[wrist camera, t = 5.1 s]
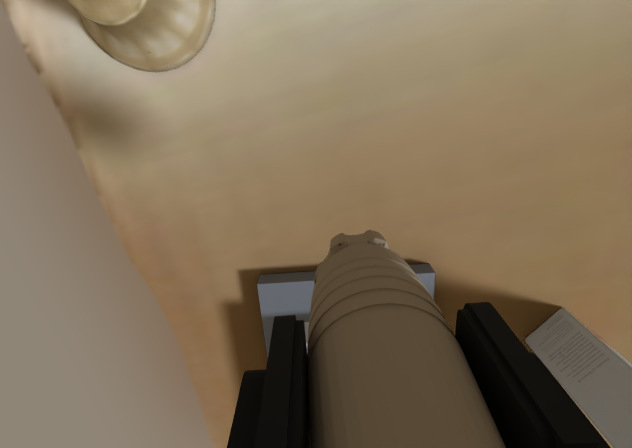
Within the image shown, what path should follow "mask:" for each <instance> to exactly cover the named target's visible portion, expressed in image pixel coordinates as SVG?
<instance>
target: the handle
mask: <svg viewBox="0 0 632 448" xmlns="http://www.w3.org/2000/svg"><path fill="white" fill-rule="evenodd" d="M307 394H308V410H309V426H310V442H311V448H506V446H505V444H504V442H503V440H502V437H501V435H500V433H499V431H498V429H497V426H496V424H495V422H494V420H493V417H492V415H491V413H490V411H489V409H488V406H487V404H486V402H485V400H484V397H483V395H482V393H481V391H480V388H479V386H478V384H477V382H476V380H475V377H474V375H473V373H472V371H471V368H470V366H469V364H468V362H467V359H466V357H465V355H464V353H463V351H462V349H461V347H460V345H459V343H458V341H457V340H456V338H455V336H454V334H453V332H452V330H451V328H450V327H449V325H448V323H447V322H446V320H445V318H444V316H443V314H442V312H441V311H440V309H439V307H438V306H437V304H436V302H435V301H434V299H433V298H432V296H431V295H430V293H429V292H428V290H427V289H426V287H425V286H424V284H423V283H422V281H421V280H420V279H419V277H418V276H417V275H416V274H415V272H414V271H413V270H412V269H411V267H410V266H409V265H408V264H407V263H406V262H405V261H404V260H403V259H402V258H401V257H400V256H399V255H398V254H397V253H395V252H393V251H391V250H390V249H389V247H388V246H387V242H386V240H385V239H384V237H383V236H382V235H381V234H380V233H378V232H376V231H372V230H368V231H366V232H365V233H363V234H360V235H345V234H343V233H340V234H339V235H337V236H335V237H334V238H332V240H331V244H330V251H329V253H328V255H327V257H326V258H325V260H324V261H323V262H321V263H320V264H319V265H318V267H317V270H316V274H315V280H314V289H313V294H312V300H311V308H310V318H309V328H308V343H307Z"/></svg>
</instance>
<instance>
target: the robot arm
mask: <svg viewBox="0 0 632 448" xmlns="http://www.w3.org/2000/svg"><path fill="white" fill-rule="evenodd" d="M455 338H456V340H457V341H458V343H459V345H460V347H461V349H462V351H463V353H464V355H465V357H466V359H467V362H468V364H469V366H470V368H471V371H472V373H473V375H474V377H475V380H476V382H477V384H478V386H479V388H480V391H481V393H482V395H483V397H484V400H485V402H486V404H487V406H488V409H489V411H490V413H491V415H492V417H493V420H494V422H495V424H496V426H497V429H498V431H499V433H500V435H501V437H502V440H503V442H504V444H505V446H506V448H610V446H609V445H608V444H607V443H606V441H605V440H604V439H603V438H602V436H601V435H600V434H599V433H598V431H597V430H596V429H595V428H594V426H593V425H592V424H591V423H590V421H589V420H588V419H587V417H586V416H585V415H584V414H583V412H582V411H581V410H580V409H579V407H578V406H577V405H576V404H575V402H574V401H573V400H572V399H571V397H570V396H569V395H568V394H567V392H566V391H565V390H564V389H563V387H562V386H561V385H560V384H559V382H558V381H557V380H556V379H555V377H554V376H553V375H552V374H551V372H550V371H549V370H548V369H547V367H546V366H545V365H544V364H543V362H542V361H541V360H540V359H539V358H538V357H537V356H536V355H535V354H533V353H531V352H530V353H529V352H528V351H527V350H526V348H525V347H524V346H523V344H522V343H521V342H520V341H519V339H518V338H517V337H516V335H515V334H514V333H513V331H512V330H511V329H510V328H509V326H508V325H507V324H506V322H505V321H504V320H503V319H502V317H501V316H500V315H499V313H498V312H497V311H496V310H495V308H494V307H493V306H492V305H491V304H490V303H489V302H481V303H467V304H465V306H464V309H461V310H458V312H457V321H456V333H455ZM227 448H311V442H310V426H309V410H308V394H307V345H306V335H305V325H304V320H296V315H286V316H275V317H274V321H273V328H272V334H271V341H270V348H269V354H268V361H267V368H266V370H251V371H245V373H244V375H243V378H242V383H241V387H240V392H239V396H238V401H237V405H236V410H235V414H234V419H233V423H232V427H231V432H230V436H229V441H228V445H227Z"/></svg>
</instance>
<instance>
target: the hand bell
mask: <svg viewBox="0 0 632 448" xmlns="http://www.w3.org/2000/svg"><path fill="white" fill-rule="evenodd" d="M67 1H68V2H69V4H70V5H71V6H72V7H73V8H74V9H75V10H76V11H77V12H79V14H80V16H81V18H82V20H83V22H84V24H85V26H86V28H87V30H88V31H89V33H90V34H91V36H92V37H93V38H94V40H95V41H96V42H97V43H98V44H99V46H100V47H101V48H102V49H103V50H104V51H106V52H107V53H108V54H109V55H110V56H111V57H113V58H114V59H116V60H117V61H119V62H121V63H123V64H124V65H127V66H129V67H132V68H134V69H137V70H142V71H147V72H163V71H169V70H172V69H176V68H178V67H180V66H182V65H184V64H186V63H187V62H189V61H190V60H191V59H193V58H194V57H195V56H196V55H197V54H198V52H199V51H200V50H201V49H202V47H203V46H204V44H205V43H206V41H207V39H208V37H209V35H210V32H211V29H212V26H213V22H214V17H215V0H67Z"/></svg>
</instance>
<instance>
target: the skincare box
mask: <svg viewBox="0 0 632 448" xmlns="http://www.w3.org/2000/svg"><path fill="white" fill-rule="evenodd" d="M525 342H526V343H527V344H528V346H529V347H530V348H531V349H532V351H533V352H534V353H535V354H536V355H537V356H538V358H539V359H540V360H541V361H542V362H543V364H544V365H545V366H546V367H547V368H548V370H549V371H550V372H551V373H552V374H553V376H554V377H555V378H556V379H557V380H558V381H559V383H560V384H561V385H562V386H563V387H564V389H565V390H566V391H567V392H568V394H569V395H570V396H571V397H572V398H573V400H574V401H575V402H576V403H577V404H578V406H579V407H580V408H581V409H582V410H583V412H584V413H585V414H586V415H587V416H588V418H589V419H590V420H591V421H592V422H593V424H594V425H595V426H596V427H597V428H598V430H599V431H600V432H601V433H602V434H603V435H604V437H605V438H606V439H607V440H608V441H609V443H610V444H611V445H612V446H613V447H614V448H632V364H631V363H629V362H628V361H627V360H626V359H625V358H624V357H622V356H621V355H620V354H619V353H618V352H616V351H615V350H614V349H613V348H612V347H611V346H609V345H608V344H607V343H606V342H605V341H603V340H602V339H601V338H600V337H598V336H597V335H596V334H595V333H594V332H592V331H591V330H590V329H589V328H587V327H586V326H585V325H584V324H583V323H581V322H580V321H579V320H578V319H577V318H575V317H574V316H573V315H572V314H571V313H570V312H568V311H567V310H566V309H565V308H561V309H559V310H558V311H557V312H556V313H555V314H553V315H552V316H551V317H550V318H549V319H548V320H547V321H545V322H544V323H543V324H542V325H541V326H540V327H538V328H537V329H536V330H535V331H534V332H532V333H531V334H530V335H529V336H528V337H527V338H526V339H525Z"/></svg>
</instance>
